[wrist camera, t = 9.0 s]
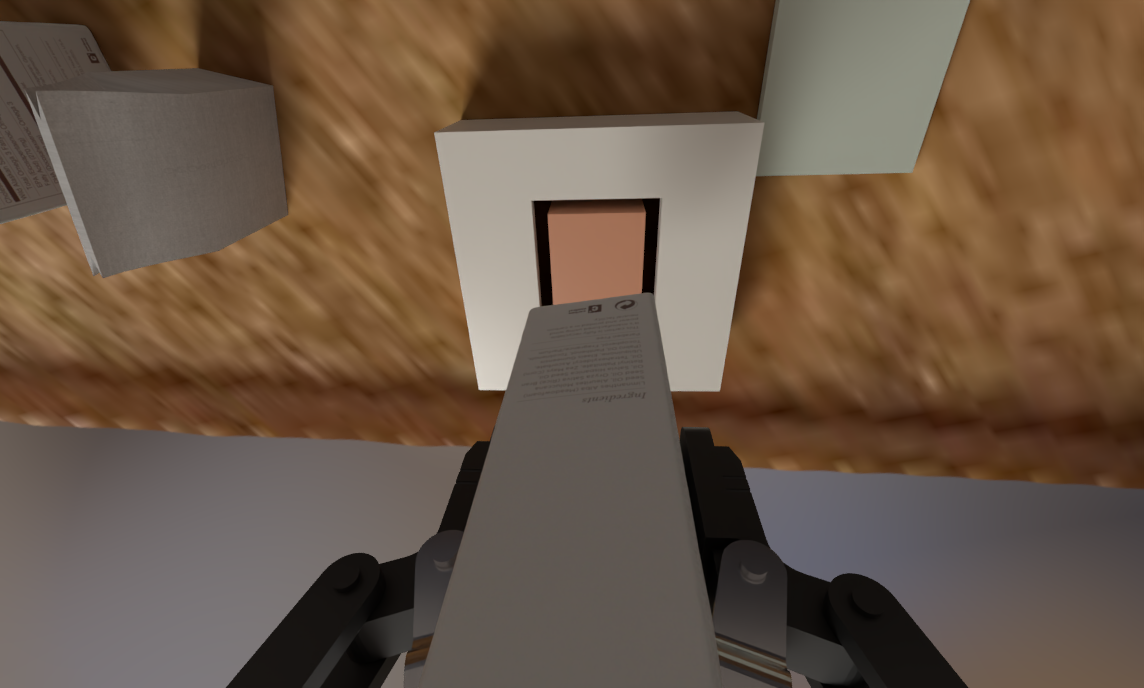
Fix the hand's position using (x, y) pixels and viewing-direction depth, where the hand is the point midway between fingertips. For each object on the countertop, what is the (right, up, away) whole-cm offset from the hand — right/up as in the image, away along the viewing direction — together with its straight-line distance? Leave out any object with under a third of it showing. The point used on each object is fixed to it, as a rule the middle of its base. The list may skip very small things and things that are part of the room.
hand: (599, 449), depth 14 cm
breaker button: (+1, +8, +13) cm, 16 cm away
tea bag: (-18, +14, +12) cm, 26 cm away
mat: (+12, +15, +9) cm, 22 cm away
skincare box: (0, +2, +3) cm, 4 cm away
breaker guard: (+1, +9, +14) cm, 16 cm away
